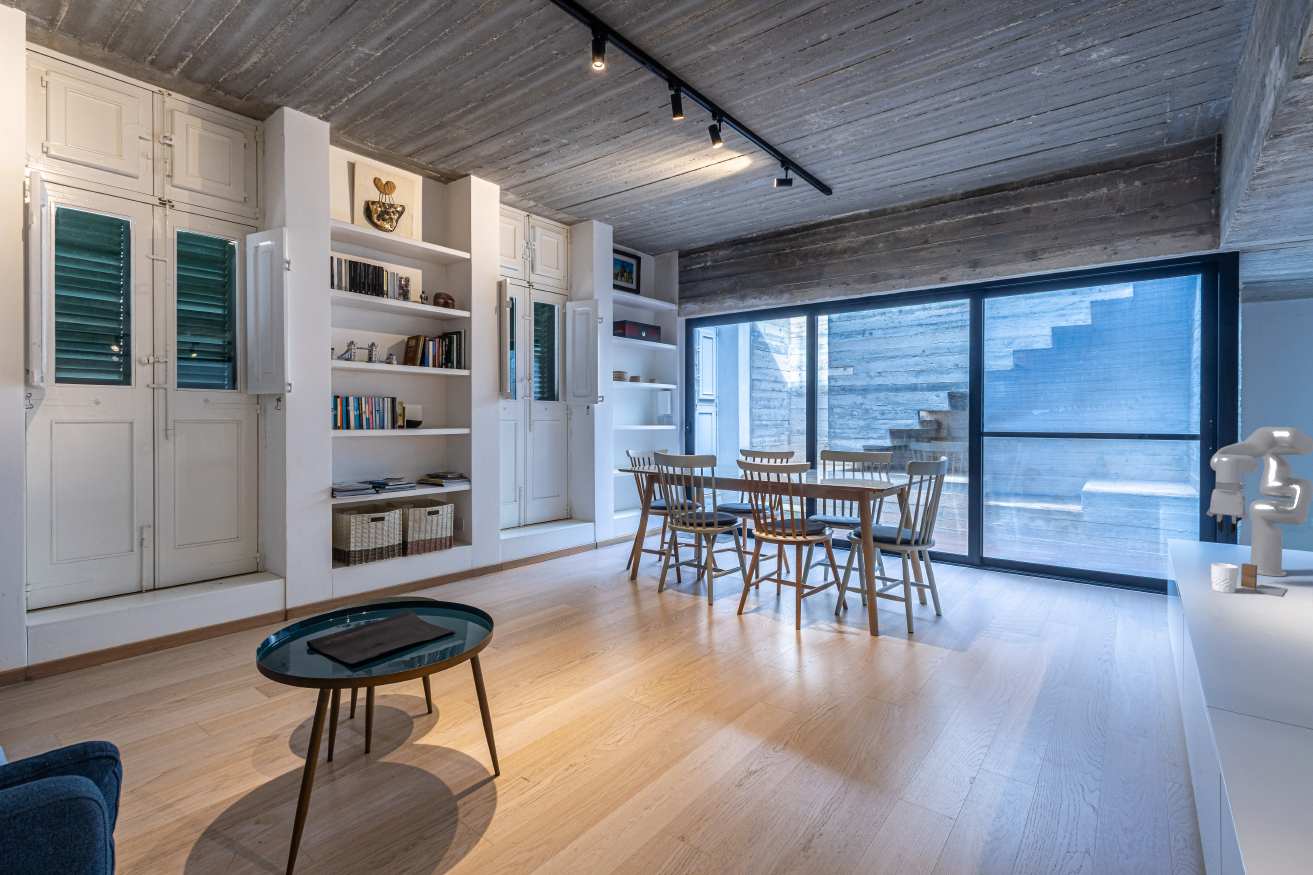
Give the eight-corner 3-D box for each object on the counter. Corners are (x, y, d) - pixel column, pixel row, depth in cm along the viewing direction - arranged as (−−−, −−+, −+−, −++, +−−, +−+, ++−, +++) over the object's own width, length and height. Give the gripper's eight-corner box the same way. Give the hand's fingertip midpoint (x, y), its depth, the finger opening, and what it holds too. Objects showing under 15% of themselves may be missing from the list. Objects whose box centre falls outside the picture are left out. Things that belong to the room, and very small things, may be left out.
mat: (1260, 585, 248) (1260, 584, 248) (1286, 589, 242) (1286, 588, 242) (1254, 592, 239) (1254, 591, 239) (1281, 596, 233) (1281, 595, 233)
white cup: (1226, 587, 245) (1227, 562, 245) (1243, 593, 237) (1244, 568, 237) (1204, 587, 246) (1205, 562, 245) (1220, 593, 238) (1221, 567, 237)
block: (1242, 585, 248) (1243, 563, 248) (1256, 587, 245) (1257, 565, 245) (1240, 587, 246) (1241, 564, 245) (1254, 589, 243) (1255, 566, 242)
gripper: (1257, 487, 245) (1255, 533, 246) (1203, 484, 258) (1202, 528, 258) (1254, 489, 240) (1252, 536, 241) (1199, 485, 253) (1198, 530, 254)
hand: (1226, 531), depth 250 cm, fingers open, 2 cm apart
